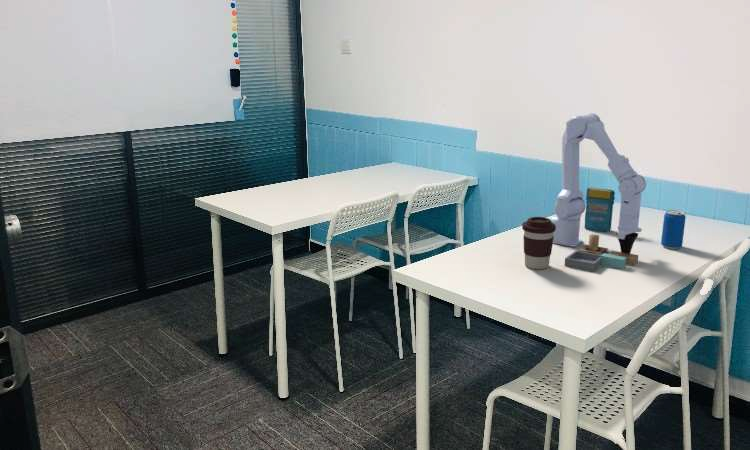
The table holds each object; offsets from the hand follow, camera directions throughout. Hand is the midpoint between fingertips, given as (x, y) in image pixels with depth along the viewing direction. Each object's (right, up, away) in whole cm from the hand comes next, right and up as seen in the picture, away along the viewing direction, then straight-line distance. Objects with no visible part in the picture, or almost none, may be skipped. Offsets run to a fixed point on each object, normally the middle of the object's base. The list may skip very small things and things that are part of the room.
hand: (625, 255), depth 208 cm
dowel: (-10, -1, +2) cm, 10 cm away
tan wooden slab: (-2, -2, -2) cm, 4 cm away
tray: (-15, -3, -5) cm, 16 cm away
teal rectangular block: (-6, -3, -6) cm, 9 cm away
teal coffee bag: (+1, +8, +31) cm, 32 cm away
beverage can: (+19, +2, +11) cm, 22 cm away
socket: (-10, -1, +2) cm, 10 cm away
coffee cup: (-30, -3, -5) cm, 30 cm away
